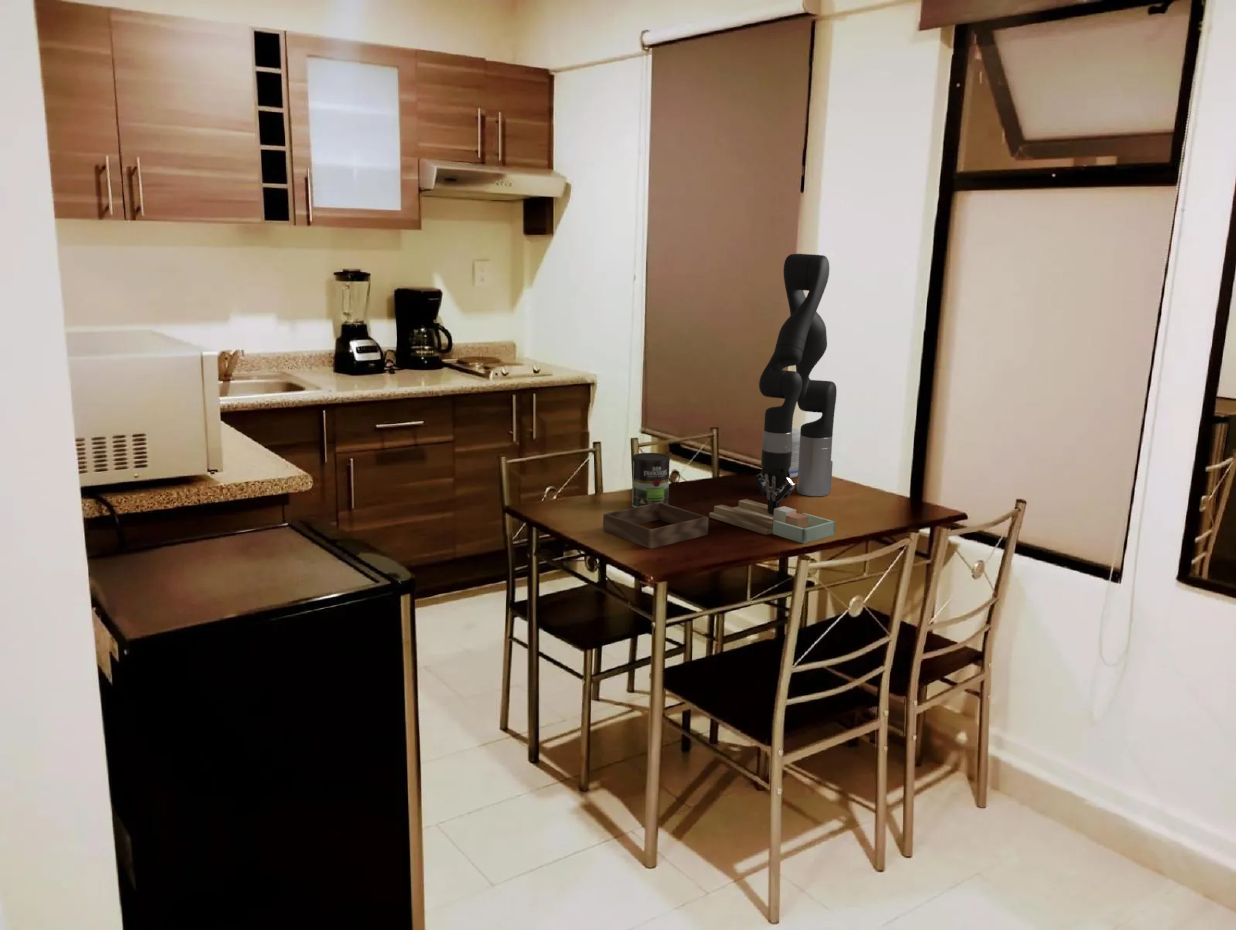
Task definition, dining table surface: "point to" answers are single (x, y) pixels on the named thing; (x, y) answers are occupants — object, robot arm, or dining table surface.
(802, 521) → the orange cube
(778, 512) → the light grey cube
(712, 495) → the dining table surface
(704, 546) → the dining table surface
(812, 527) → the tray
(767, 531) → the slot board
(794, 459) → the supplement tub
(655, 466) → the coffee can
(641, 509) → the brown shallow square box
